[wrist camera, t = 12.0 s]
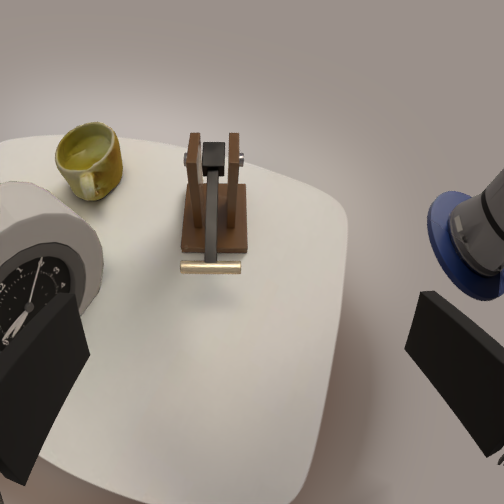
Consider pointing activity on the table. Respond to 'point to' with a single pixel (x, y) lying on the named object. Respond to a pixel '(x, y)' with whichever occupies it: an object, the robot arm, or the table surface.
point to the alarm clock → (42, 255)
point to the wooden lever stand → (229, 202)
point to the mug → (90, 160)
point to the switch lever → (211, 216)
